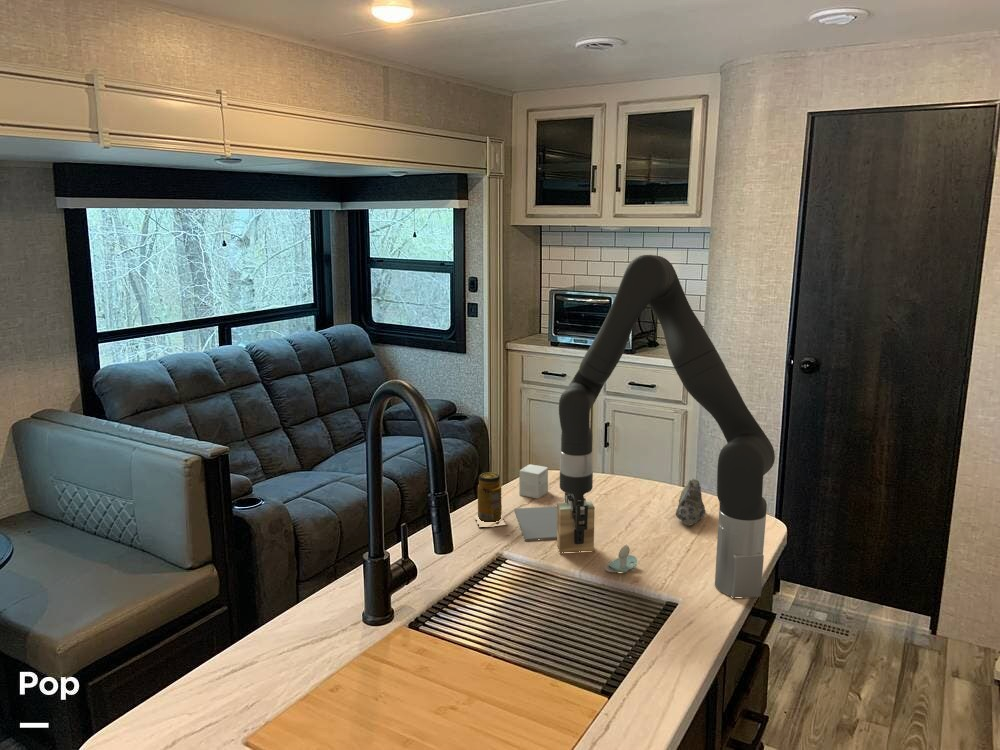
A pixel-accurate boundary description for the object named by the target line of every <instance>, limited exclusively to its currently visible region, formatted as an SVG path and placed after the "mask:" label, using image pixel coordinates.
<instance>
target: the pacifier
mask: <svg viewBox="0 0 1000 750" xmlns="http://www.w3.org/2000/svg"><path fill="white" fill-rule="evenodd" d="M630 552H631V551H630V547H629V545H627V544H624V545H623V546H622V547H621V548H620V550H619V552H618V558H616V559H614V560H612V561H609V562H608V563H606V564H605V565H604V570H605V571H606V570H607V571H606V572H607V573H616V572H625V573H627V572H628V571H630V570H633V569H634V568H636V567H637V565H638V559H637V557H636V556H634V555H630ZM609 566H610V567H609Z"/></svg>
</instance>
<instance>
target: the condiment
mask: <svg viewBox="0 0 1000 750" xmlns="http://www.w3.org/2000/svg"><path fill="white" fill-rule="evenodd" d="M500 482H501V481H500V474H498V473H496V472H492V471H490V472H483V473H480V475H479V476H478V485H477V514H478V517H479V519H480V520H481V521H484V522H496V521H499V520H500V519H501V515H502V507H503V506H502V485H501V483H500Z"/></svg>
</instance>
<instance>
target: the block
mask: <svg viewBox="0 0 1000 750" xmlns="http://www.w3.org/2000/svg"><path fill="white" fill-rule="evenodd" d="M586 505H587V506H588V520H587V530H584V543H583V544H575V543H574V528H573V526H574V524H573V520H572V519H571V515H570V507H569V505H568V503H565V502H560V503H557V504H556V506H557V539H556V548H557V547H558V549H559V551H558V553H559V552H560V553H562V552H563V553H564V552H579V551H580V552H581V551H594V552H595V550H594V549H595V506H594V504H593V502H592V501H586ZM574 515H576V514H575V513H574ZM579 524H582V521H580V522H579ZM558 549H557V550H558ZM560 553H559V554H560Z"/></svg>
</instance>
